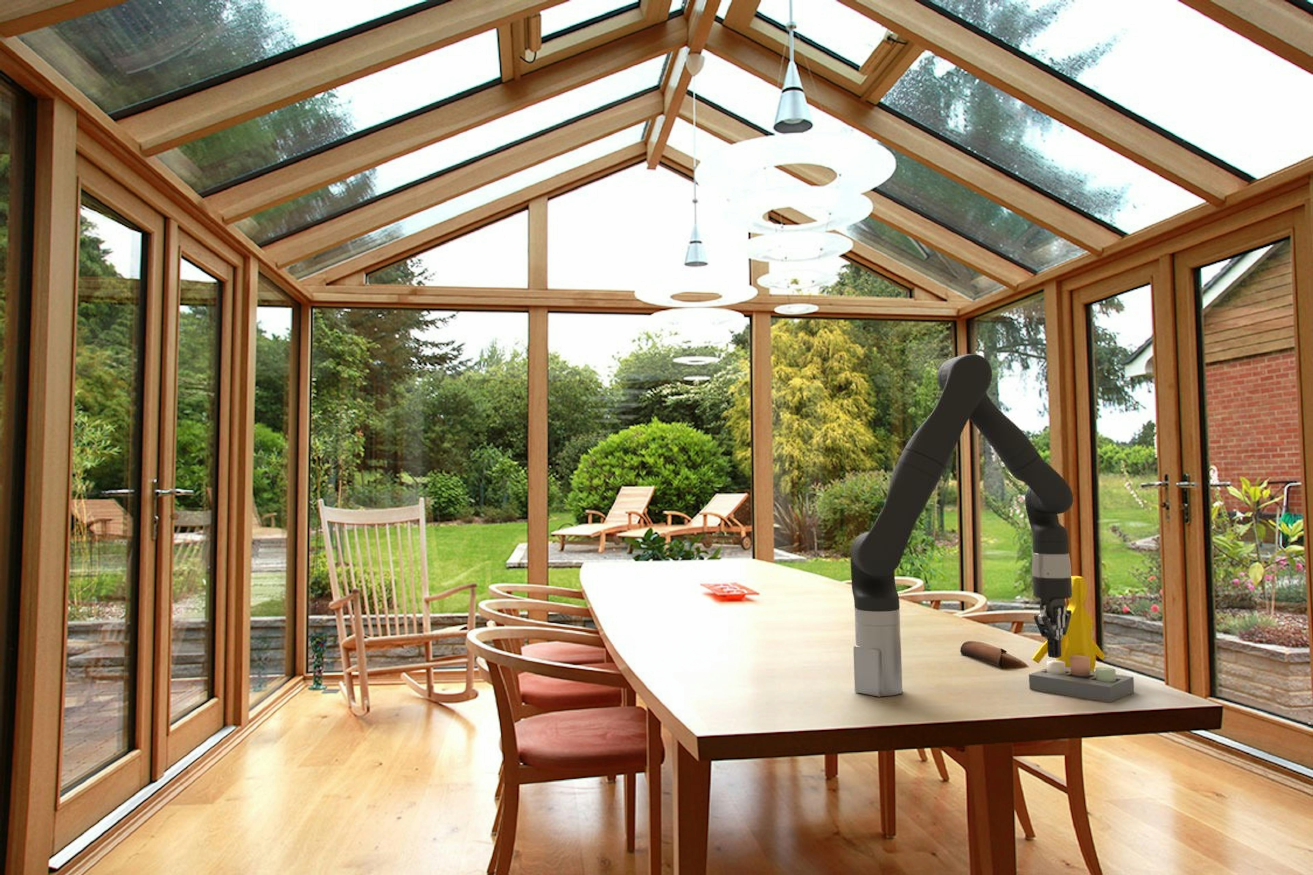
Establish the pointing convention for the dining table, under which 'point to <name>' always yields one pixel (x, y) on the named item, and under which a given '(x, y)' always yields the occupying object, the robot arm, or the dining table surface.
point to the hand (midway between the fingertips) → (1054, 656)
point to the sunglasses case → (991, 655)
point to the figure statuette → (1076, 630)
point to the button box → (1081, 685)
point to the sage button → (1105, 674)
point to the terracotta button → (1080, 665)
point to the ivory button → (1056, 667)
